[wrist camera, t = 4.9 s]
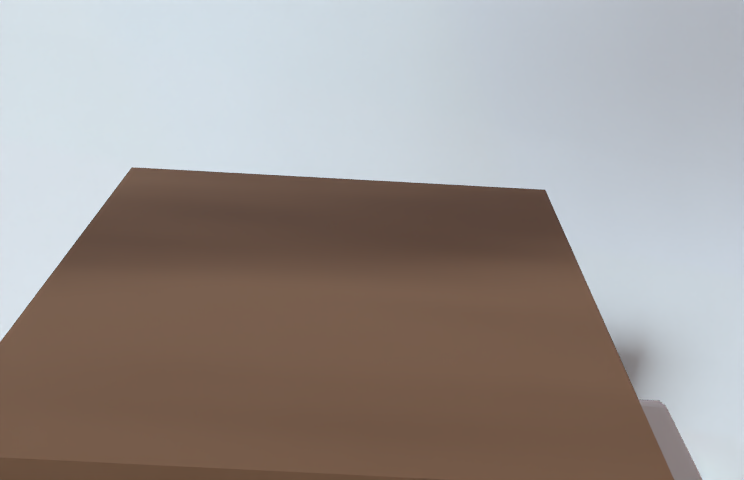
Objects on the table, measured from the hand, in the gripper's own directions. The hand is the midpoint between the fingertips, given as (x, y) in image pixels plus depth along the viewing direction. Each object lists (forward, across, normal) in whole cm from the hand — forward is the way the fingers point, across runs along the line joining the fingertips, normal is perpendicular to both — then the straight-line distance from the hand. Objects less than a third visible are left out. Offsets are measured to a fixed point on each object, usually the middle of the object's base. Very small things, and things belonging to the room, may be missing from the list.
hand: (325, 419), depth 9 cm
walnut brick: (+2, 0, 0) cm, 2 cm away
